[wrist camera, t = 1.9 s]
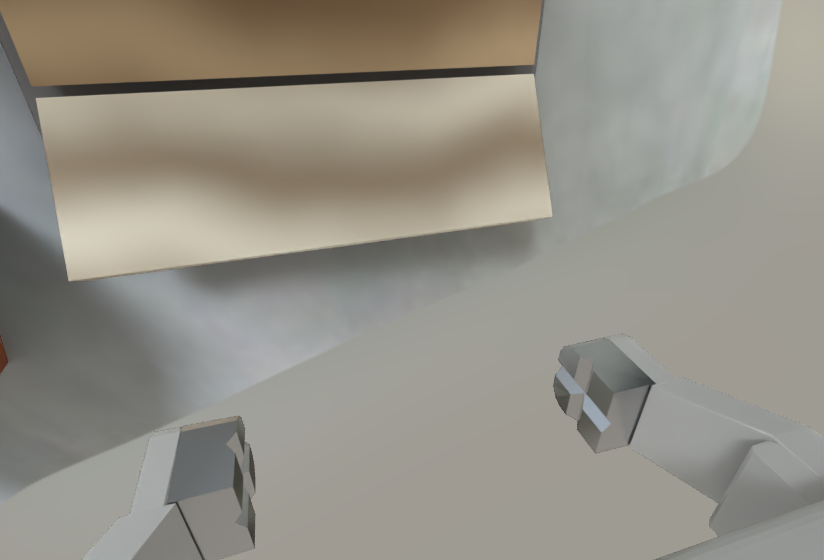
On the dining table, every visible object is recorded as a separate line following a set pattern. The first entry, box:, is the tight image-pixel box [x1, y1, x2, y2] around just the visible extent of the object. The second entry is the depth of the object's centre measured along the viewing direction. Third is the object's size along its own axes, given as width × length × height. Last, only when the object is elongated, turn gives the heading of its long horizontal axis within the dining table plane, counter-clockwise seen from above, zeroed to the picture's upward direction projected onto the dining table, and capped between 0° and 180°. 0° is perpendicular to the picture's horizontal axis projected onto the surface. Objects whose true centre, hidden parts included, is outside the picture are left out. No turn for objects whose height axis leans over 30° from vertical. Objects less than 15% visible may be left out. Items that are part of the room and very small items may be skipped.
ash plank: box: [36, 74, 553, 281], centre depth 20 cm, size 7×21×2 cm, turn 91°
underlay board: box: [0, 0, 544, 139], centre depth 21 cm, size 16×23×1 cm
